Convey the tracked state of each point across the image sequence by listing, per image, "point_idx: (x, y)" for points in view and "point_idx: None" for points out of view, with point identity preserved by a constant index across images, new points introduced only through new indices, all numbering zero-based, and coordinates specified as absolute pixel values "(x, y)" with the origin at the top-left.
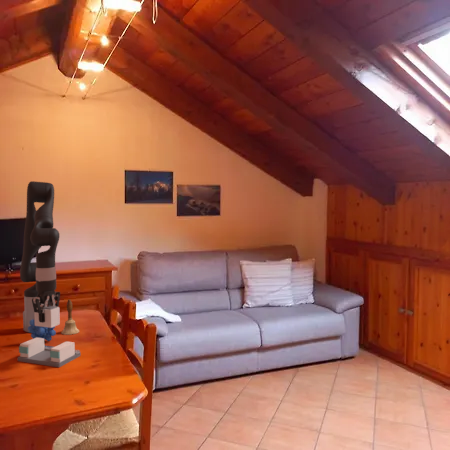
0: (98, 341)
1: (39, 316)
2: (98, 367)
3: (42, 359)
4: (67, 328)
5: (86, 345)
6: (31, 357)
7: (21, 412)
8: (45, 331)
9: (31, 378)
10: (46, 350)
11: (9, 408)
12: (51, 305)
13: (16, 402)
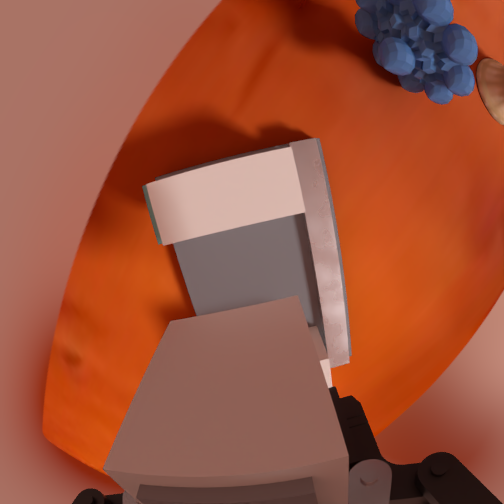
0: (480, 274)
1: None
2: None
3: (207, 302)
4: (502, 91)
5: (441, 273)
6: (191, 239)
7: (64, 436)
8: (415, 67)
9: (118, 364)
10: (296, 216)
11: (50, 415)
12: (383, 501)
13: (62, 413)
